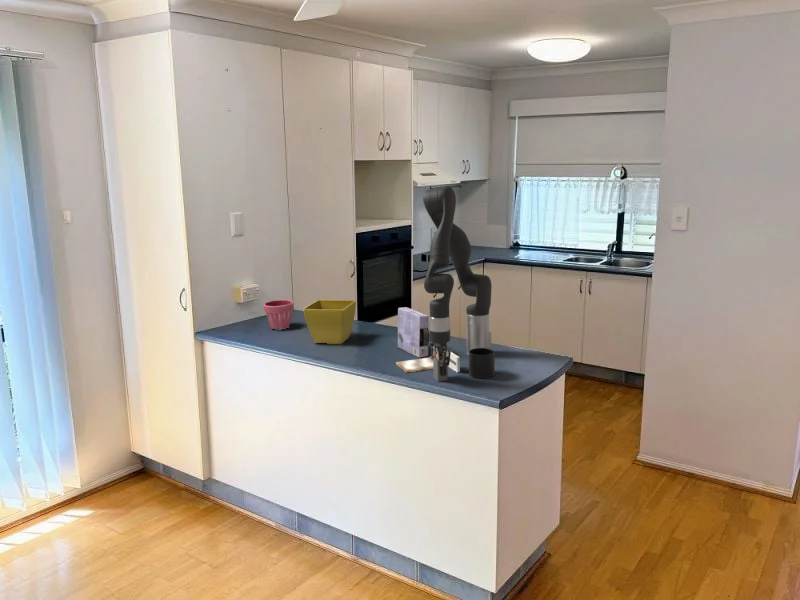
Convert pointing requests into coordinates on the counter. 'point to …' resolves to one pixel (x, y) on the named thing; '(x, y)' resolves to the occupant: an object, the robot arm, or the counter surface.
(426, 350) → the cake pan box
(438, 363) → the ball-topped gray post
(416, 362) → the clipboard
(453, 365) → the block
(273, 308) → the plant pot
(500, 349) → the counter surface
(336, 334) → the flower pot
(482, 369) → the mug
